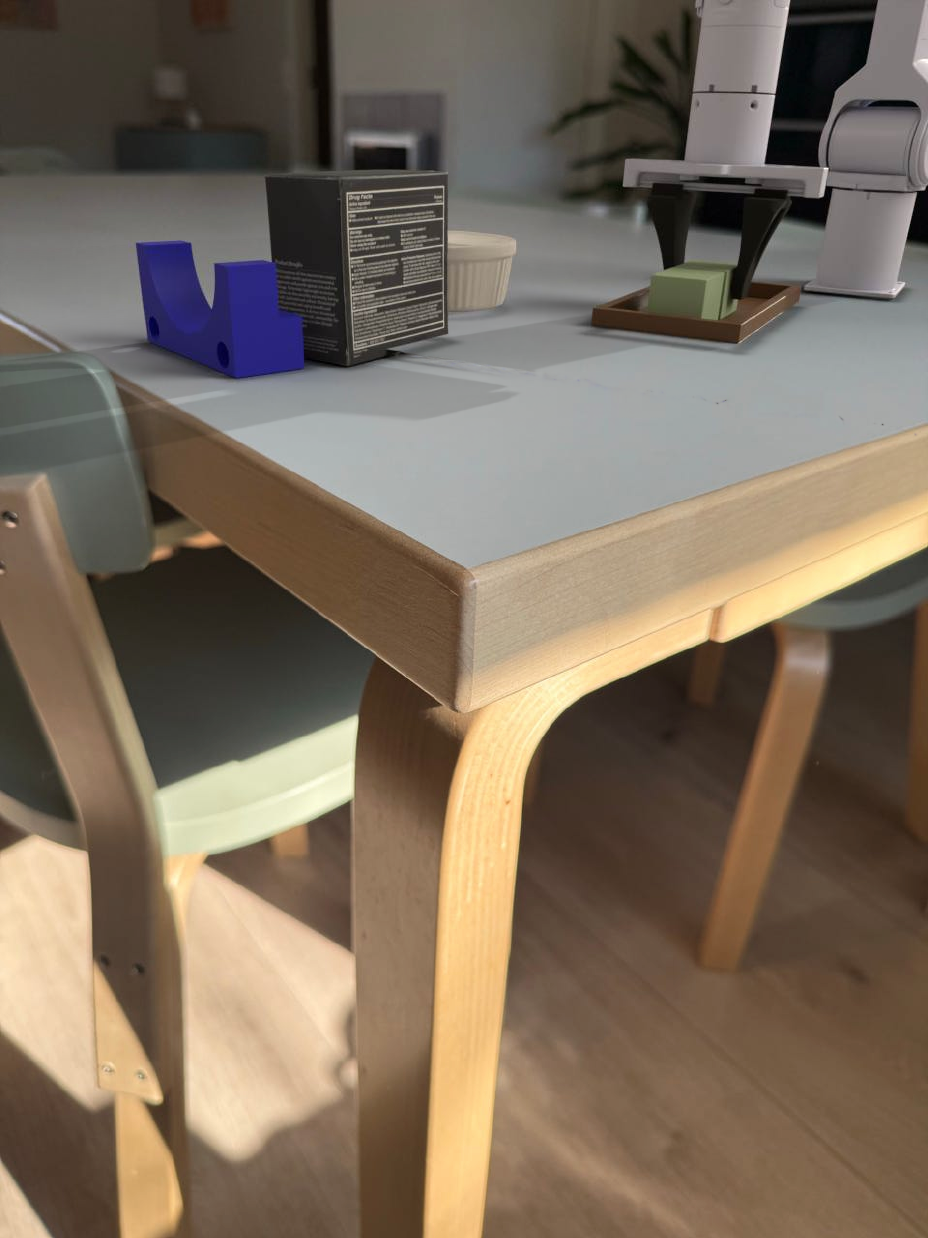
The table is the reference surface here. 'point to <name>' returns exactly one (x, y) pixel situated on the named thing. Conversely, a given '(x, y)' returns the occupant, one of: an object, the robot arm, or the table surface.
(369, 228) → the small box
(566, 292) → the table surface
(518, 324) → the table surface
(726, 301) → the olive green block
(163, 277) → the cable clip
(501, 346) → the table surface
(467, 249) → the ramekin
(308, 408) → the table surface
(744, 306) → the tray
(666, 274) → the green rectangular block
